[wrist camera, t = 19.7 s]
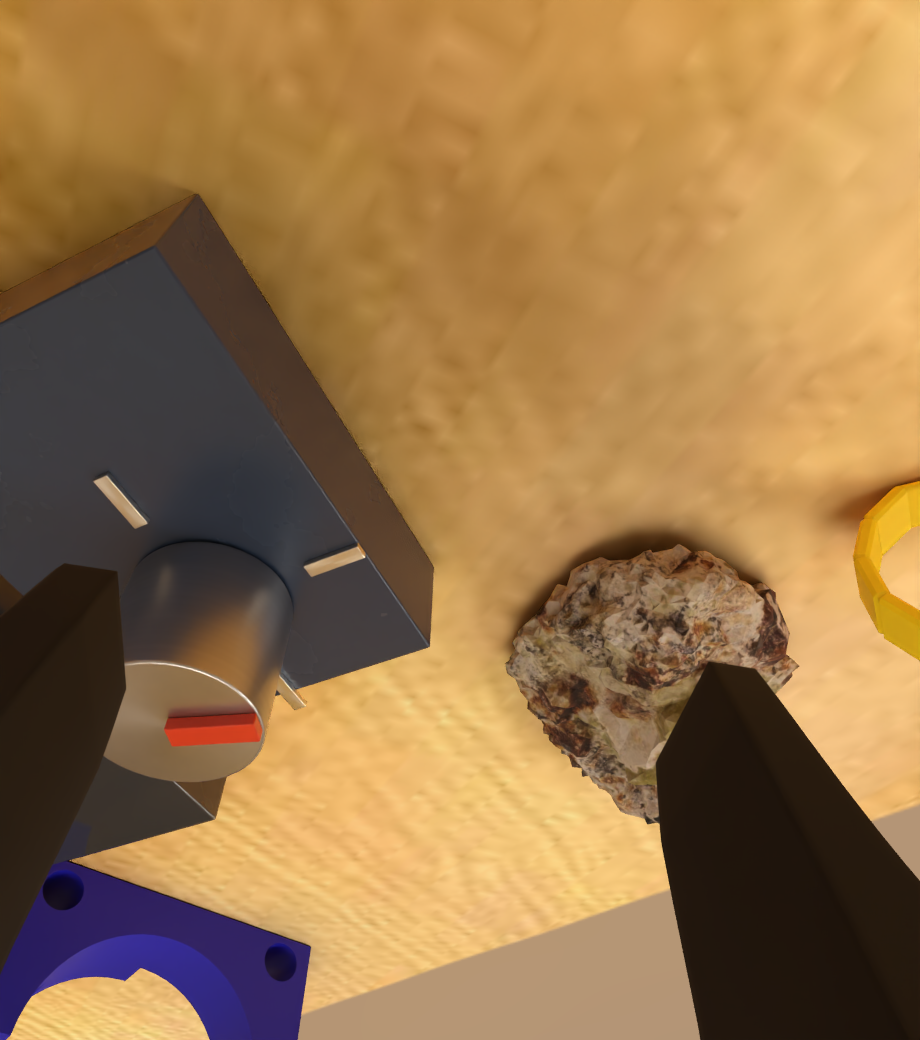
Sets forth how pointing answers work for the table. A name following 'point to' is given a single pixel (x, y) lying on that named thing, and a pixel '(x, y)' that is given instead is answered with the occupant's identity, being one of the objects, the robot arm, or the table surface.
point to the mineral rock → (640, 659)
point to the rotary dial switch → (194, 443)
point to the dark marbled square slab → (129, 799)
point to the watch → (874, 539)
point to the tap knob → (198, 662)
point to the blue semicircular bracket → (155, 954)
